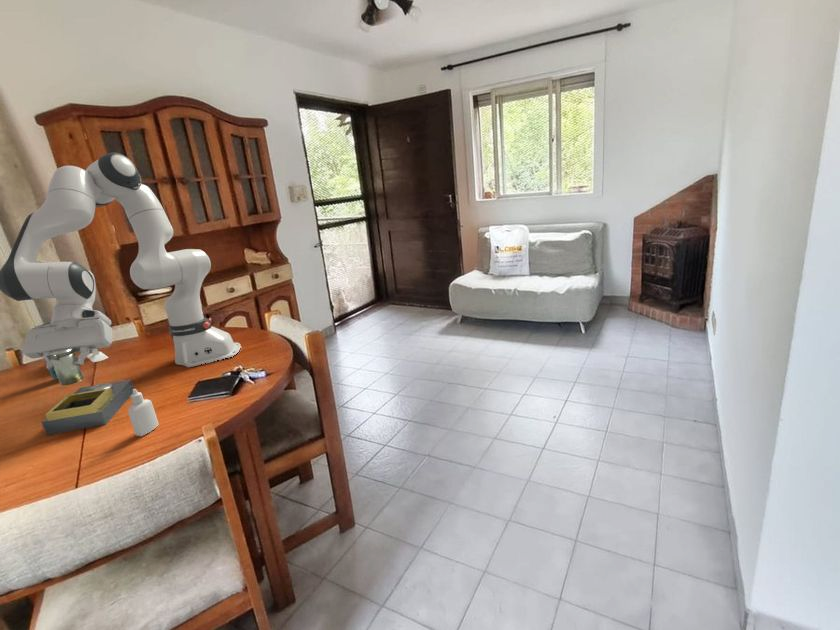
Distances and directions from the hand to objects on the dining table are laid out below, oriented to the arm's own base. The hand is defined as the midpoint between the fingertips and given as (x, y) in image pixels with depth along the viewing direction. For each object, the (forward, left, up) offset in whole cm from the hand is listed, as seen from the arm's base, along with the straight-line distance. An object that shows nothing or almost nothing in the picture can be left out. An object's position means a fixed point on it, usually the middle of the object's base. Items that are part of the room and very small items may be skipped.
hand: (64, 366), depth 112 cm
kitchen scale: (0, -5, -16) cm, 17 cm away
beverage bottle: (+23, -37, -17) cm, 47 cm away
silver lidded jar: (0, -1, -5) cm, 5 cm away
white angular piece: (+21, -56, -17) cm, 62 cm away
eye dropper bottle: (-20, +13, -17) cm, 29 cm away
